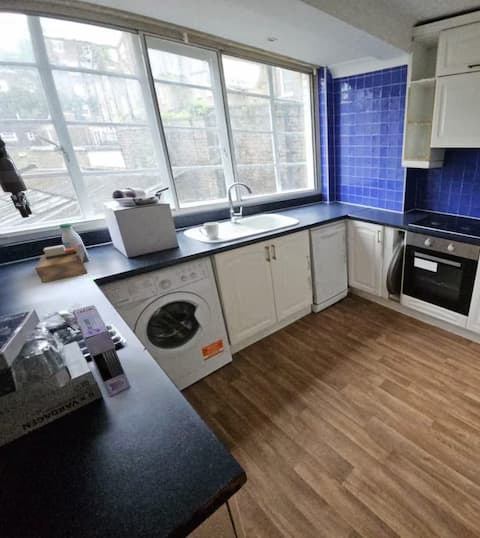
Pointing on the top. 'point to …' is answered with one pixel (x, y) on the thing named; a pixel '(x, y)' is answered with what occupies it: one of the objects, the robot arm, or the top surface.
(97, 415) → the top surface
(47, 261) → the tan box with lid
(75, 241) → the milk bottle
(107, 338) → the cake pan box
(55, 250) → the white bottle red cap
